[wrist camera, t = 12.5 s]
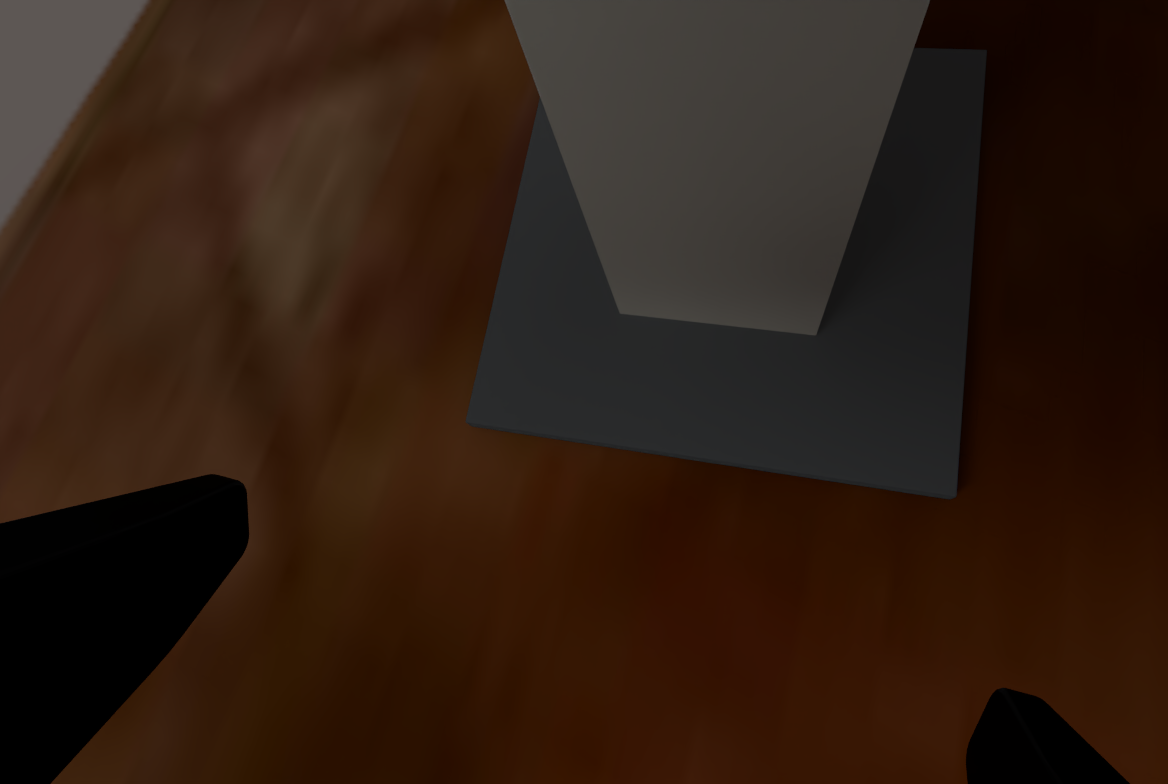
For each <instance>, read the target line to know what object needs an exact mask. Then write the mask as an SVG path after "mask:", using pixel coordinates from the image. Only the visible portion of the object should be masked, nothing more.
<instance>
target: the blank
mask: <svg viewBox="0 0 1168 784" xmlns="http://www.w3.org/2000/svg"><path fill="white" fill-rule="evenodd" d="M929 2H930V0H505V3H506V5H507V8H508V11H509V13H510V16H511V19H512V22H513V24H514V27H515V30H516V32H517V35H518V38H519V41H520V43H521V46H522V49H523V52H524V54H525V57H526V60H527V62H528V65H529V68H530V71H531V73H532V76H533V79H534V81H535V84H536V87H537V90H538V92H539V95H540V98H541V101H542V103H543V106H544V109H545V111H546V114H547V117H548V120H549V122H550V125H551V128H552V130H553V133H554V136H555V139H556V141H557V144H558V147H559V150H560V152H561V155H562V158H563V160H564V163H565V166H566V169H567V171H568V174H569V177H570V179H571V182H572V185H573V188H574V190H575V193H576V196H577V198H578V201H579V204H580V207H581V209H582V212H583V215H584V218H585V220H586V223H587V226H588V228H589V231H590V234H591V237H592V239H593V242H594V245H595V247H596V250H597V253H598V256H599V258H600V261H601V264H602V267H603V269H604V272H605V275H606V277H607V280H608V283H609V286H610V288H611V291H612V294H613V296H614V299H615V302H616V305H617V307H618V310H619V313H620V314H628V315H637V316H646V317H655V318H664V319H673V320H681V321H690V322H699V323H708V324H717V325H726V326H735V327H744V328H753V329H762V330H771V331H780V332H789V333H798V334H807V335H816V334H817V331H818V328H819V325H820V322H821V320H822V317H823V314H824V311H825V308H826V305H827V302H828V299H829V296H830V293H831V290H832V287H833V284H834V281H835V278H836V275H837V273H838V270H839V267H840V264H841V261H842V258H843V255H844V252H845V249H846V246H847V243H848V240H849V237H850V234H851V231H852V228H853V225H854V223H855V220H856V217H857V214H858V211H859V208H860V205H861V202H862V199H863V196H864V193H865V190H866V187H867V184H868V181H869V178H870V176H871V173H872V170H873V167H874V164H875V161H876V158H877V155H878V152H879V149H880V146H881V143H882V140H883V137H884V134H885V131H886V128H887V126H888V123H889V120H890V117H891V114H892V111H893V108H894V105H895V102H896V99H897V96H898V93H899V90H900V87H901V84H902V81H903V78H904V76H905V73H906V70H907V67H908V64H909V61H910V58H911V55H912V52H913V49H914V46H915V43H916V40H917V37H918V34H919V31H920V29H921V26H922V23H923V20H924V17H925V14H926V11H927V8H928V5H929Z"/></svg>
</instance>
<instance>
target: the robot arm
mask: <svg viewBox="0 0 1168 784" xmlns="http://www.w3.org/2000/svg"><path fill="white" fill-rule="evenodd" d="M248 539H249V524H248V505H247V491H246V488H245V486H244V484H243V483H241V482H240V481H238V480H235V479H231V478H227V477H224V476H220V475H215V474H209V475H204V476H200V477H196V478H192V479H187V480H183V481H179V482H175V483H170V484H166V485H162V486H158V487H153V488H149V489H145V490H141V491H136V492H132V493H128V494H124V495H119V496H115V497H111V498H107V499H102V500H98V501H94V502H90V503H86V504H81V505H77V506H73V507H69V508H64V509H60V510H56V511H52V512H47V513H43V514H39V515H35V516H30V517H26V518H22V519H18V520H13V521H9V522H5V523H1V524H0V784H51V783H52V781H53V780H54V779H55V778H56V777H57V776H58V775H59V774H60V773H61V772H62V770H63V769H64V768H65V767H66V766H67V765H68V764H69V763H70V762H71V761H72V759H73V758H74V757H75V756H76V755H77V754H78V753H79V752H80V751H81V750H82V748H83V747H84V746H85V745H86V744H87V743H88V742H89V741H90V740H91V739H92V737H93V736H94V735H95V734H96V733H97V732H98V731H99V730H100V729H101V728H102V726H103V725H104V724H105V723H106V722H107V721H108V720H109V719H110V718H111V717H112V715H113V714H114V713H115V712H116V711H117V710H118V709H119V708H120V707H121V706H122V704H123V703H124V702H125V701H126V700H127V699H128V698H129V697H130V696H131V694H132V693H133V692H134V691H135V690H136V689H137V688H138V687H139V686H140V685H141V683H142V682H143V681H144V680H145V679H146V678H147V677H148V676H149V675H150V674H151V672H152V671H153V670H154V669H155V668H156V667H157V666H158V665H159V663H160V662H161V661H162V660H163V659H164V658H165V657H166V655H167V654H168V653H169V652H170V651H171V649H172V648H173V647H174V646H175V644H176V643H177V642H178V641H179V639H180V638H181V637H182V635H183V634H184V633H185V631H186V630H187V629H188V627H189V626H190V625H191V623H192V622H193V621H194V619H195V618H196V617H197V615H198V614H199V613H200V611H201V610H202V609H203V607H204V606H205V605H206V603H207V602H208V601H209V599H210V598H211V597H212V595H213V594H214V593H215V591H216V590H217V589H218V587H219V586H220V585H221V583H222V582H223V581H224V579H225V578H226V577H227V575H228V574H229V573H230V571H231V570H232V569H233V567H234V566H235V565H236V563H237V562H238V561H239V559H240V558H241V557H242V555H243V553H244V551H245V549H246V547H247V544H248ZM966 770H967V781H968V784H1130V783H1129V782H1128V781H1127V780H1126V779H1125V778H1124V777H1122V776H1121V775H1120V774H1119V773H1118V772H1117V771H1116V770H1115V769H1114V768H1113V767H1112V766H1111V765H1110V764H1109V763H1108V762H1107V761H1106V760H1105V759H1104V758H1103V757H1102V756H1101V755H1100V754H1099V753H1098V752H1097V751H1096V750H1095V749H1094V748H1093V747H1092V746H1091V745H1089V744H1088V743H1087V742H1086V741H1085V740H1084V739H1083V738H1082V737H1081V736H1080V735H1079V734H1078V733H1077V732H1076V731H1075V730H1074V729H1073V728H1072V727H1071V726H1070V725H1069V724H1068V723H1067V722H1066V721H1065V720H1064V719H1063V718H1062V717H1061V716H1060V715H1059V714H1058V713H1056V712H1055V711H1054V710H1053V709H1052V708H1051V707H1050V706H1049V705H1048V704H1047V703H1046V702H1045V701H1044V700H1042V699H1041V698H1039V697H1037V696H1033V695H1030V694H1026V693H1022V692H1018V691H1015V690H1011V689H1007V688H1000V689H997V690H996V691H995V692H994V693H993V694H992V695H991V697H990V699H989V701H988V703H987V705H986V707H985V709H984V711H983V713H982V716H981V718H980V720H979V722H978V724H977V726H976V728H975V730H974V733H973V735H972V737H971V739H970V741H969V744H968V748H967V754H966Z"/></svg>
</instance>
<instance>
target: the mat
mask: <svg viewBox="0 0 1168 784" xmlns="http://www.w3.org/2000/svg"><path fill="white" fill-rule="evenodd" d="M986 55H987V50H971V49H936V48H914V49H913V52H912V55H911V58H910V61H909V64H908V67H907V70H906V73H905V76H904V78H903V81H902V84H901V87H900V90H899V93H898V96H897V99H896V102H895V105H894V108H893V111H892V114H891V117H890V120H889V123H888V126H887V128H886V131H885V134H884V137H883V140H882V143H881V146H880V149H879V152H878V155H877V158H876V161H875V164H874V167H873V170H872V173H871V176H870V178H869V181H868V184H867V187H866V190H865V193H864V196H863V199H862V202H861V205H860V208H859V211H858V214H857V217H856V220H855V223H854V225H853V228H852V231H851V234H850V237H849V240H848V243H847V246H846V249H845V252H844V255H843V258H842V261H841V264H840V267H839V270H838V273H837V275H836V278H835V281H834V284H833V287H832V290H831V293H830V296H829V299H828V302H827V305H826V308H825V311H824V314H823V317H822V320H821V322H820V325H819V328H818V331H817V334H816V335H807V334H798V333H789V332H780V331H771V330H762V329H753V328H744V327H735V326H726V325H717V324H708V323H699V322H690V321H681V320H673V319H664V318H655V317H646V316H637V315H628V314H620V313H619V310H618V307H617V305H616V302H615V299H614V296H613V294H612V291H611V288H610V286H609V283H608V280H607V277H606V275H605V272H604V269H603V267H602V264H601V261H600V258H599V256H598V253H597V250H596V247H595V245H594V242H593V239H592V237H591V234H590V231H589V228H588V226H587V223H586V220H585V218H584V215H583V212H582V209H581V207H580V204H579V201H578V198H577V196H576V193H575V190H574V188H573V185H572V182H571V179H570V177H569V174H568V171H567V169H566V166H565V163H564V160H563V158H562V155H561V152H560V150H559V147H558V144H557V141H556V139H555V136H554V133H553V130H552V128H551V125H550V122H549V120H548V117H547V114H546V111H545V109H544V106H543V103H542V101H541V98H540V100H539V105H538V109H537V113H536V118H535V122H534V126H533V131H532V135H531V139H530V144H529V148H528V152H527V157H526V161H525V165H524V170H523V174H522V179H521V183H520V187H519V192H518V196H517V200H516V205H515V209H514V213H513V218H512V222H511V226H510V231H509V235H508V239H507V244H506V248H505V252H504V257H503V261H502V265H501V270H500V274H499V279H498V283H497V287H496V292H495V296H494V300H493V305H492V309H491V313H490V318H489V322H488V326H487V331H486V335H485V339H484V344H483V348H482V352H481V357H480V361H479V365H478V370H477V374H476V379H475V383H474V387H473V392H472V396H471V400H470V405H469V409H468V413H467V418H466V423H468V424H469V425H471V426H473V427H480V428H487V429H493V430H500V431H506V432H513V433H519V434H526V435H532V436H539V437H545V438H552V439H558V440H565V441H571V442H578V443H585V444H591V445H598V446H604V447H611V448H617V449H624V450H630V451H637V452H643V453H650V454H656V455H663V456H669V457H676V458H682V459H689V460H696V461H702V462H709V463H715V464H722V465H728V466H735V467H741V468H748V469H754V470H761V471H767V472H774V473H780V474H787V475H794V476H800V477H807V478H813V479H820V480H826V481H833V482H839V483H846V484H852V485H859V486H865V487H872V488H878V489H885V490H892V491H898V492H905V493H911V494H918V495H924V496H931V497H937V498H944V499H952V498H954V497H956V493H957V479H958V464H959V449H960V435H961V420H962V406H963V391H964V377H965V362H966V347H967V333H968V318H969V304H970V289H971V274H972V260H973V245H974V231H975V216H976V201H977V187H978V172H979V158H980V143H981V128H982V114H983V99H984V85H985V70H986Z"/></svg>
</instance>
